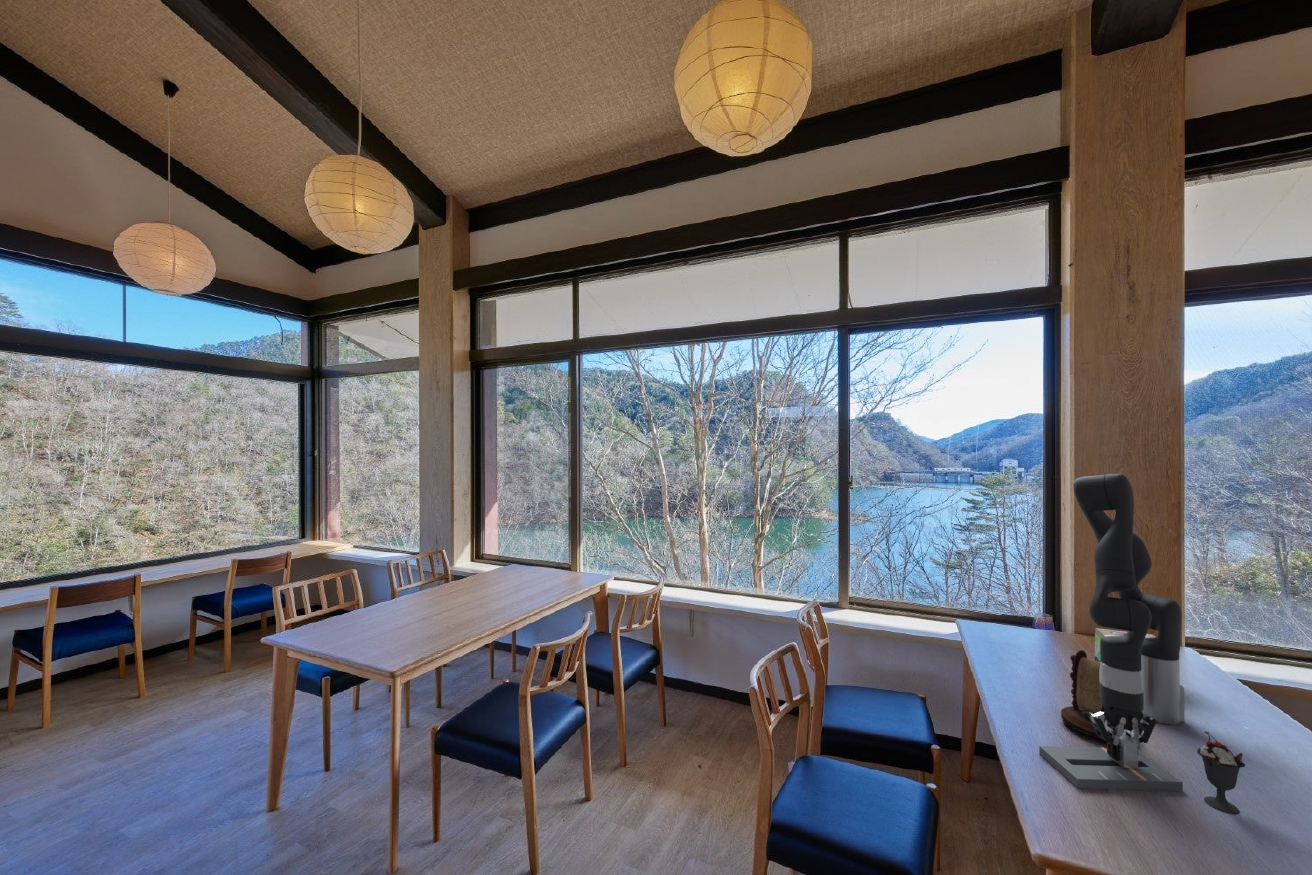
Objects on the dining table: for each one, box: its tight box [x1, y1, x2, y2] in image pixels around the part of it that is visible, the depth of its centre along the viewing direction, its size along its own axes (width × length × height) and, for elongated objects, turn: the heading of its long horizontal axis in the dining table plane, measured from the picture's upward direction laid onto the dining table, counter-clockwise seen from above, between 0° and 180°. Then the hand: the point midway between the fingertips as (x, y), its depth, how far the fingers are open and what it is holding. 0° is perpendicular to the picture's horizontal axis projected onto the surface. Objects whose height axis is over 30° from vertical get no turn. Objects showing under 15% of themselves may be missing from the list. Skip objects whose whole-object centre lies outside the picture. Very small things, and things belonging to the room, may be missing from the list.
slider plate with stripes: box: [1038, 745, 1184, 792], centre depth 116 cm, size 22×12×2 cm, turn 86°
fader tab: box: [1108, 733, 1139, 769], centre depth 116 cm, size 3×4×8 cm
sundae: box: [1196, 731, 1246, 815], centre depth 105 cm, size 7×7×15 cm
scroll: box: [1060, 649, 1124, 740], centre depth 132 cm, size 15×15×20 cm
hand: (1122, 758), depth 116 cm, fingers closed on fader tab, 3 cm apart
